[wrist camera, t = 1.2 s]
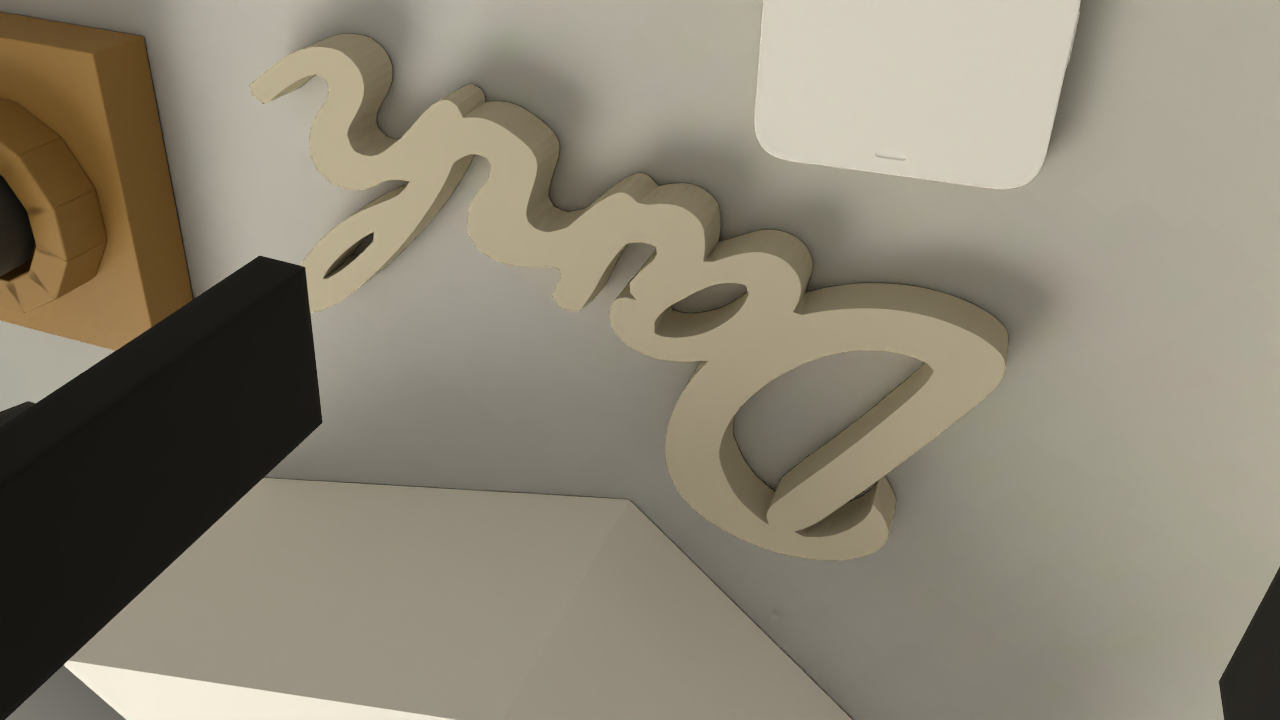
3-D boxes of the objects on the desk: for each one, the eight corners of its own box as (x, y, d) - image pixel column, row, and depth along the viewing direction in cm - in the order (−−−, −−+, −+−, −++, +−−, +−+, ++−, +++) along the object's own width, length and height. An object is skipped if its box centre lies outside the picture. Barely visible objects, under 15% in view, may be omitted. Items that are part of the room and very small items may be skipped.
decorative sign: (1018, 355, 28) (851, 596, 34) (1021, 327, 29) (859, 564, 35) (261, -14, 30) (226, 272, 36) (294, -25, 31) (256, 253, 37)
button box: (-75, -2, 36) (-188, 25, 33) (144, 35, 34) (46, 68, 31) (8, 285, 42) (-81, 332, 39) (200, 333, 40) (122, 388, 37)
